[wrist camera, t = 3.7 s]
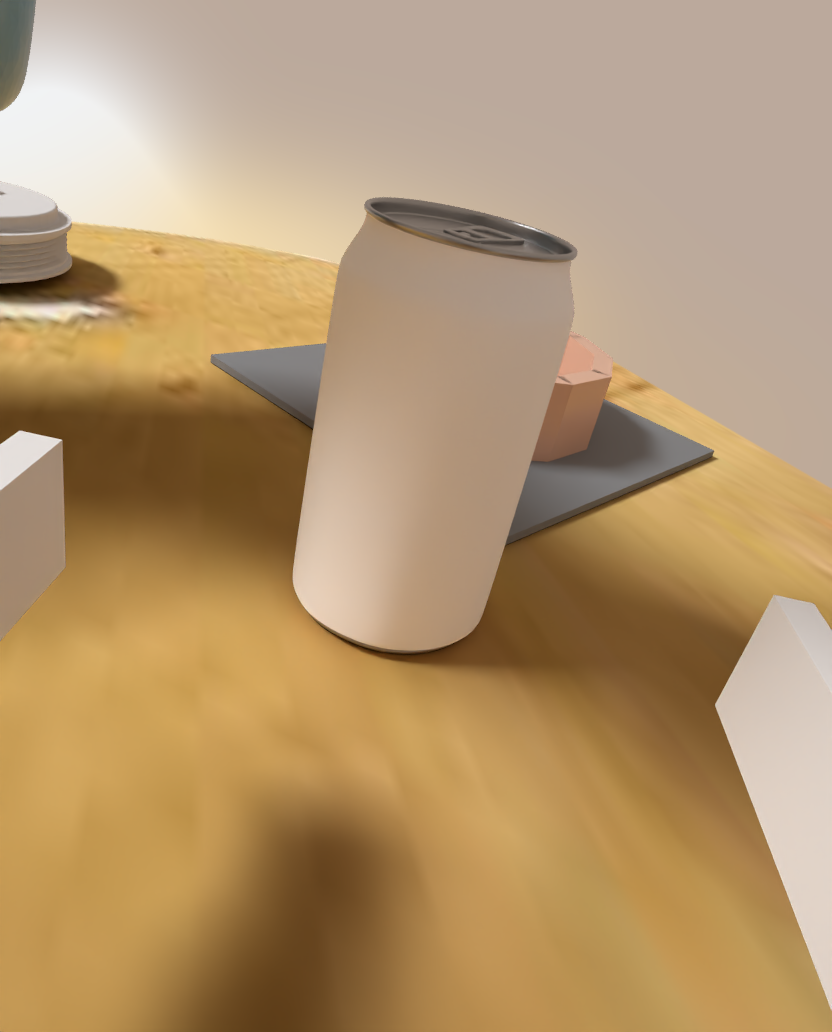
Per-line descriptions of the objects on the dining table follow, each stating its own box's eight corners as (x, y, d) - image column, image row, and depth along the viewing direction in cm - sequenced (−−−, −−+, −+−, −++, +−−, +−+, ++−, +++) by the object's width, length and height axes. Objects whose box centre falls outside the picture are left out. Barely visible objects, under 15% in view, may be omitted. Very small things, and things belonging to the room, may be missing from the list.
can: (247, 584, 24) (294, 189, 19) (374, 524, 29) (442, 195, 24) (404, 693, 22) (517, 266, 16) (515, 606, 27) (632, 255, 21)
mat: (210, 361, 40) (211, 354, 40) (455, 335, 54) (457, 330, 54) (496, 548, 30) (499, 540, 29) (711, 456, 43) (714, 450, 43)
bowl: (304, 372, 41) (314, 298, 39) (461, 352, 50) (476, 291, 48) (487, 481, 34) (511, 397, 32) (631, 434, 43) (656, 367, 41)
